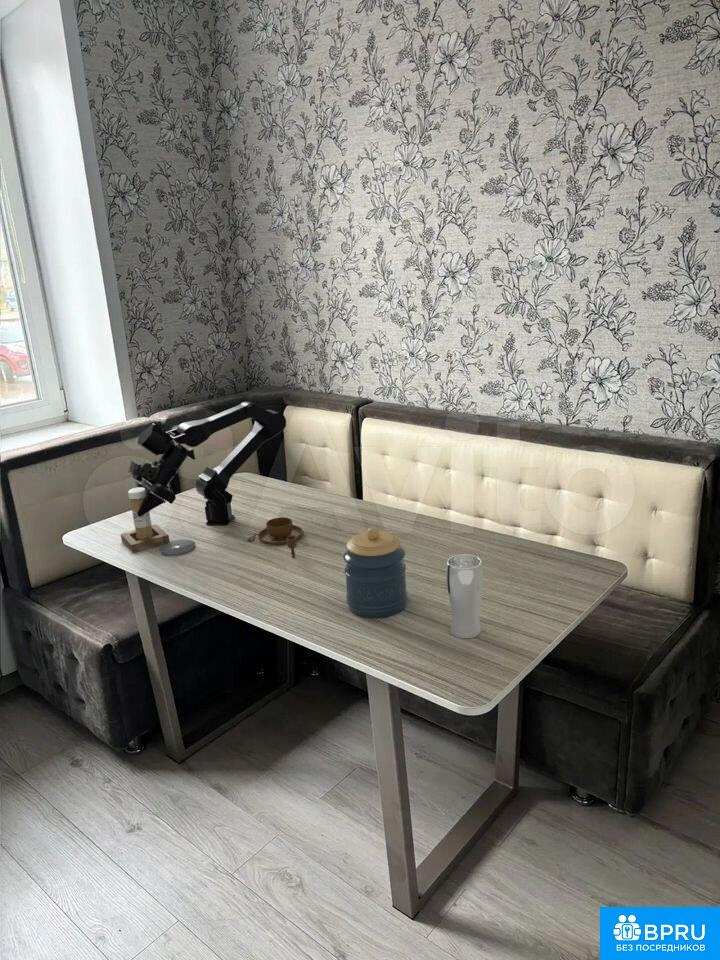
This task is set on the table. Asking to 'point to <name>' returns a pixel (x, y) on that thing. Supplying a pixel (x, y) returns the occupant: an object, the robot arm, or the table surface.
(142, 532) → the sprinkles bottle
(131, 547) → the square wooden frame
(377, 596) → the canister
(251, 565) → the table surface
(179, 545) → the coaster
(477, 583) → the beer glass
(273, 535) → the place setting
